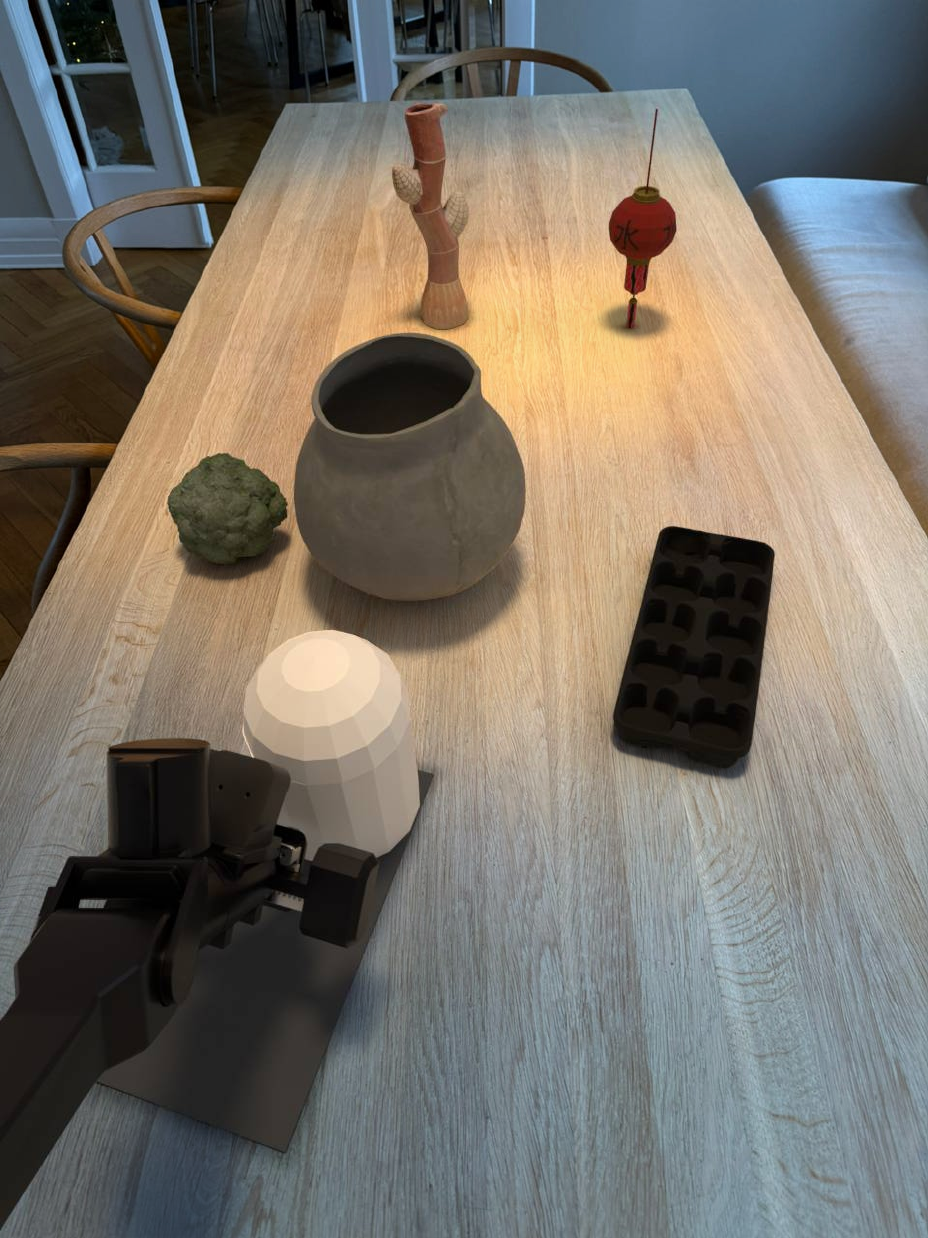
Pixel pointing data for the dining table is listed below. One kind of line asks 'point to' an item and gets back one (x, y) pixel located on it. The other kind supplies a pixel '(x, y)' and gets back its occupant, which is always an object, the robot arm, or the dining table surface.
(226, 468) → the vegetable
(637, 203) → the lantern
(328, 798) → the container
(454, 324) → the vase
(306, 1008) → the plate
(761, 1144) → the dining table surface
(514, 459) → the ceramic pot
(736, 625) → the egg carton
